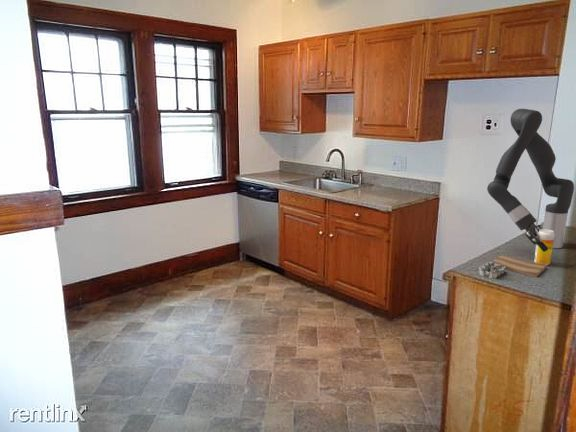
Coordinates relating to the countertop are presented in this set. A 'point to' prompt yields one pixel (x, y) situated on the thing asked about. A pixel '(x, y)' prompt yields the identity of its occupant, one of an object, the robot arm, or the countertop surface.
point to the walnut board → (520, 266)
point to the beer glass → (547, 239)
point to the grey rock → (491, 270)
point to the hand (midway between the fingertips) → (548, 248)
